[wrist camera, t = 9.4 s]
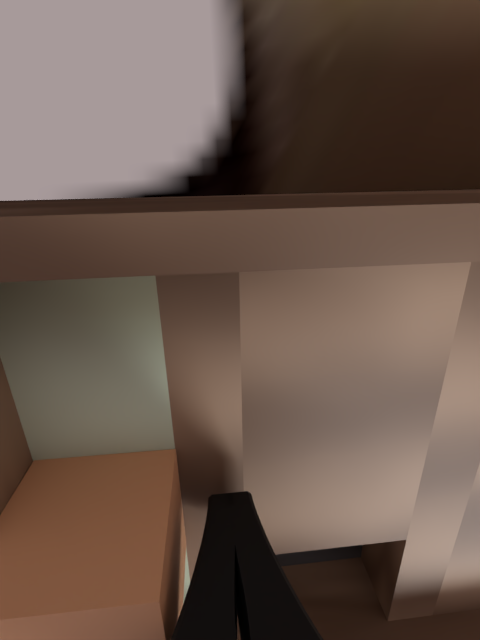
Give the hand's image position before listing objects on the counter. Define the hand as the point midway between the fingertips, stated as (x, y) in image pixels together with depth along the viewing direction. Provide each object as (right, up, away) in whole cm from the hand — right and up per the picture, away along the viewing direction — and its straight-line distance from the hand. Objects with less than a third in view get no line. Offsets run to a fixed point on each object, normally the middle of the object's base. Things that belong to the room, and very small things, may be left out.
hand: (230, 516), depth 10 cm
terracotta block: (-4, 0, 0) cm, 4 cm away
